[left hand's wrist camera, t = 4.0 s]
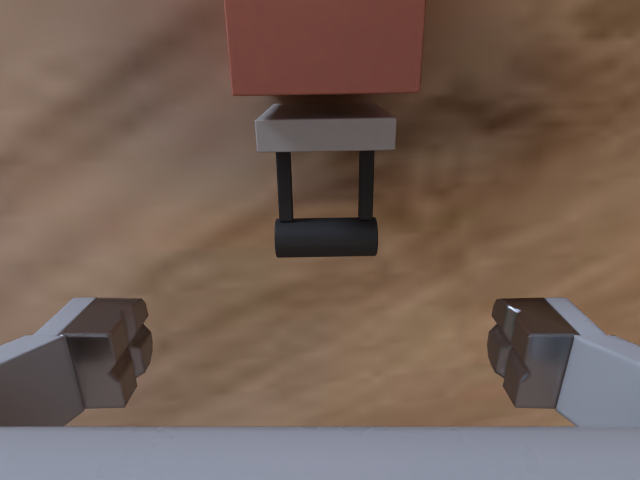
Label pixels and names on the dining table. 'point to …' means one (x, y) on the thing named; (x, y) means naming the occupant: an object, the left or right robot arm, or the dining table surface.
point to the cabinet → (324, 46)
